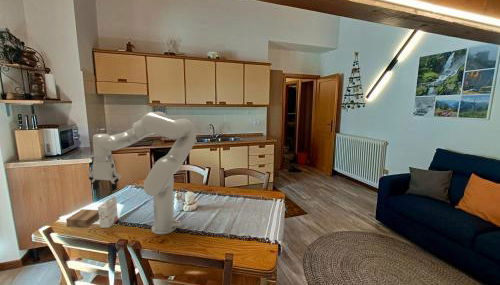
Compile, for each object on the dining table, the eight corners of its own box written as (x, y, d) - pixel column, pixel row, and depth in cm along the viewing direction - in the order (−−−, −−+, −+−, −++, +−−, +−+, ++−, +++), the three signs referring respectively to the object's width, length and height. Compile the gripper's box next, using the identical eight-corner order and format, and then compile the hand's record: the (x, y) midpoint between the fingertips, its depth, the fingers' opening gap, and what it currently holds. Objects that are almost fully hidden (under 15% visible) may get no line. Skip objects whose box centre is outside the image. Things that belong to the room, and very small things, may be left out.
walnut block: (101, 217, 132) (101, 210, 131) (87, 228, 122) (86, 220, 121) (83, 216, 133) (82, 209, 132) (67, 227, 122) (66, 219, 121)
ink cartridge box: (109, 219, 130) (107, 194, 127) (118, 219, 130) (116, 195, 127) (99, 227, 122) (96, 201, 119) (108, 228, 122) (106, 201, 119)
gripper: (123, 157, 123) (125, 187, 126) (91, 155, 123) (94, 186, 126) (115, 160, 115) (117, 193, 118) (80, 158, 115) (83, 191, 119)
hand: (105, 189), depth 122 cm, fingers open, 9 cm apart
